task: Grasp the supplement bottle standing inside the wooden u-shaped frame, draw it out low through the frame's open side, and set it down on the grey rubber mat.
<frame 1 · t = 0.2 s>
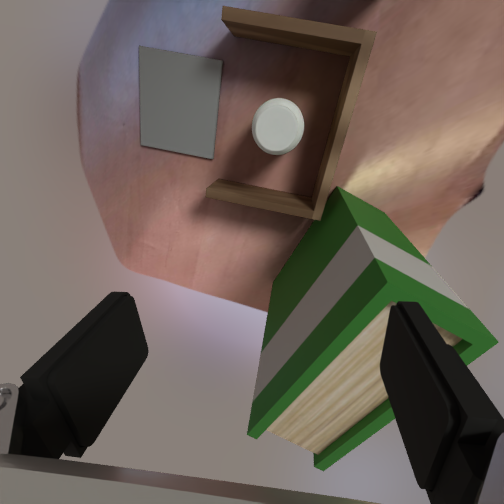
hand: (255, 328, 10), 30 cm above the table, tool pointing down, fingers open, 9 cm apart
grey mat: (179, 106, 35), on the table
hardback book: (323, 250, 41), on the table
supplement bottle: (280, 125, 34), on the table
wooden u-shaped frame: (280, 125, 34), on the table
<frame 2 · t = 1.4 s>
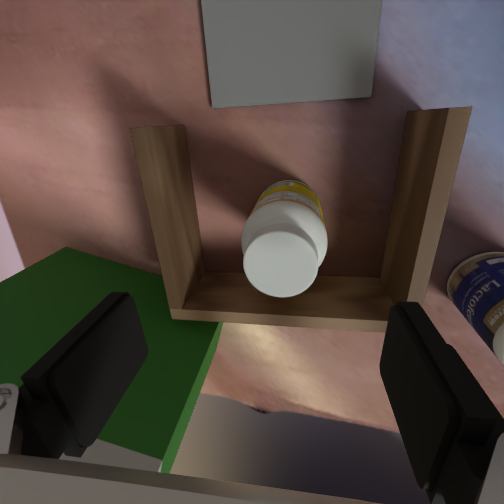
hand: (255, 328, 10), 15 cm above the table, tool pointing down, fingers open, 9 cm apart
pill bottle: (481, 279, 23), on the table
grey mat: (288, 13, 18), on the table
hardback book: (145, 298, 30), on the table
supplement bottle: (288, 211, 23), on the table
wooden u-shaped frame: (288, 211, 23), on the table
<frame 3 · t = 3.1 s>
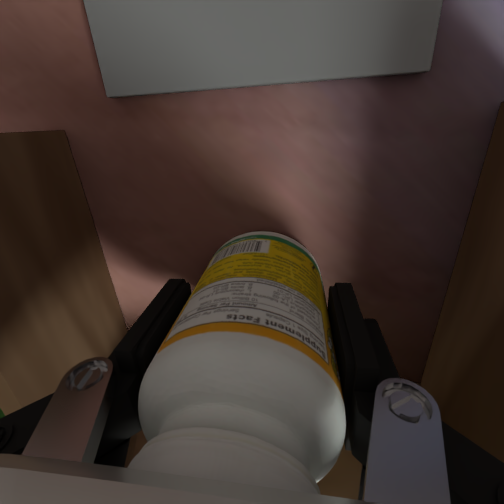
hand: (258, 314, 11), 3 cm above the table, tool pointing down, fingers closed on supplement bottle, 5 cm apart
supplement bottle: (264, 278, 13), on the table, touching gripper
wooden u-shaped frame: (264, 281, 13), on the table
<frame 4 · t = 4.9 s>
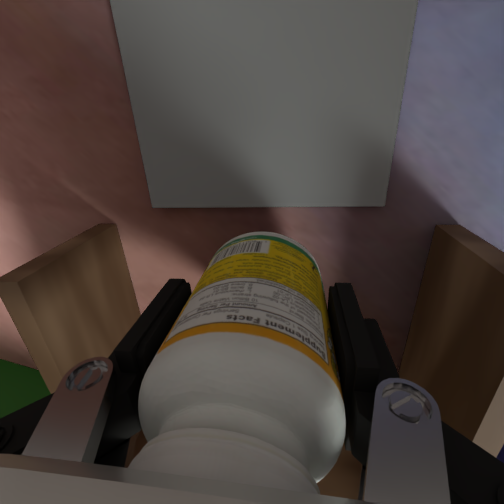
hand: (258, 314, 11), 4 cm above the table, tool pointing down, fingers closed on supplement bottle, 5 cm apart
grey mat: (258, 85, 11), on the table
hardback book: (87, 410, 23), on the table
supplement bottle: (264, 279, 13), point 2 cm above the table, touching gripper
wooden u-shaped frame: (266, 333, 17), on the table
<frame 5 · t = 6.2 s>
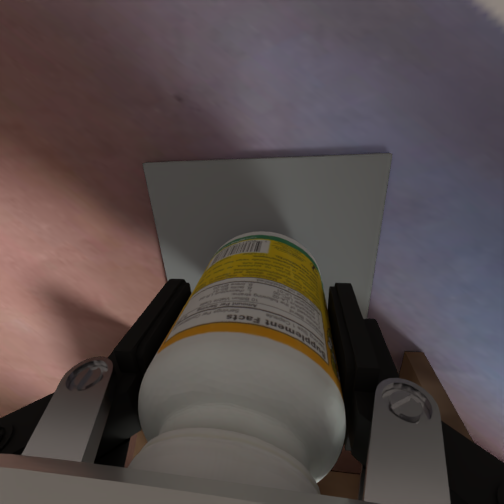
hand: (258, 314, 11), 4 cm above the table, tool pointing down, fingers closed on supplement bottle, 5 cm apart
grey mat: (264, 256, 15), on the table
supplement bottle: (264, 279, 13), point 2 cm above the table, touching gripper
wooden u-shaped frame: (270, 416, 20), on the table
when the fingers open (3 cm above the table, at t = 7.1 s): supplement bottle stays where it is, resting on grey mat.
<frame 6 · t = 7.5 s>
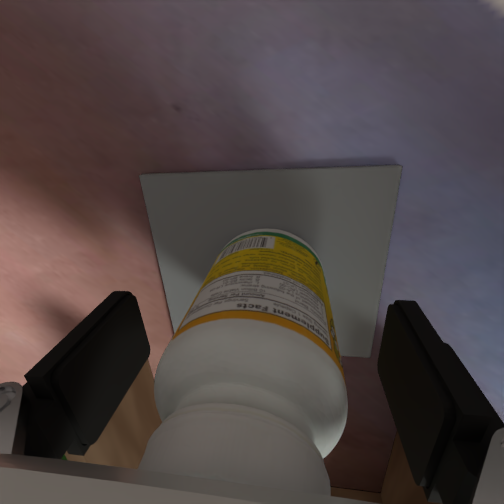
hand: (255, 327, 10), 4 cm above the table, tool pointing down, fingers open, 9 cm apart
grey mat: (266, 271, 14), on the table
supplement bottle: (268, 274, 14), resting on grey mat
wooden u-shaped frame: (272, 432, 20), on the table
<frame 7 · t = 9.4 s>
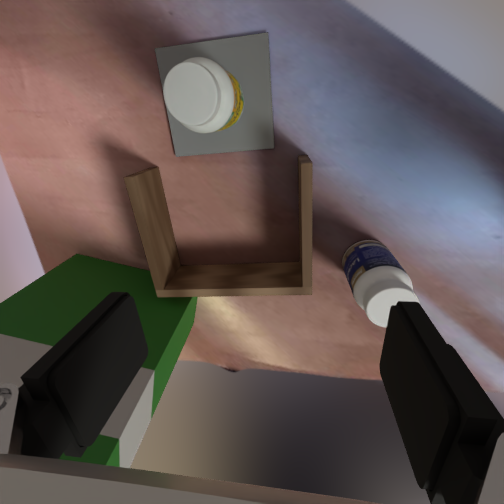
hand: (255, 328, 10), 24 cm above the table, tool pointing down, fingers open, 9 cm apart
pill bottle: (364, 258, 35), on the table
grey mat: (218, 101, 28), on the table
hardback book: (138, 289, 40), on the table
supplement bottle: (219, 101, 28), resting on grey mat
wooden u-shaped frame: (233, 220, 34), on the table
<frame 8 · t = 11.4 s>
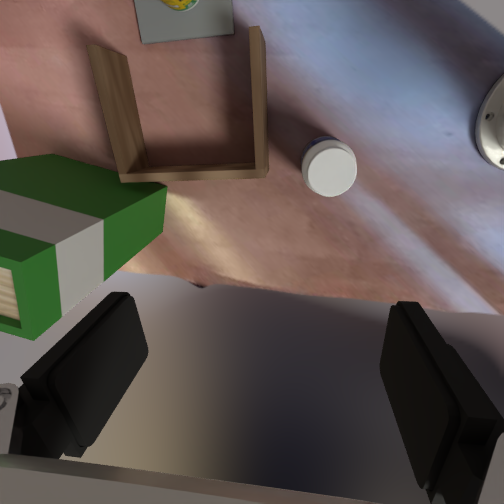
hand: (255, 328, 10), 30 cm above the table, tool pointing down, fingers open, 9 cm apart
pill bottle: (322, 159, 36), on the table
hardback book: (110, 193, 42), on the table
wooden u-shaped frame: (197, 116, 35), on the table
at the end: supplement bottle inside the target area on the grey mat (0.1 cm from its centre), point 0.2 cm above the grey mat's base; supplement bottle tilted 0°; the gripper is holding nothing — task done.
